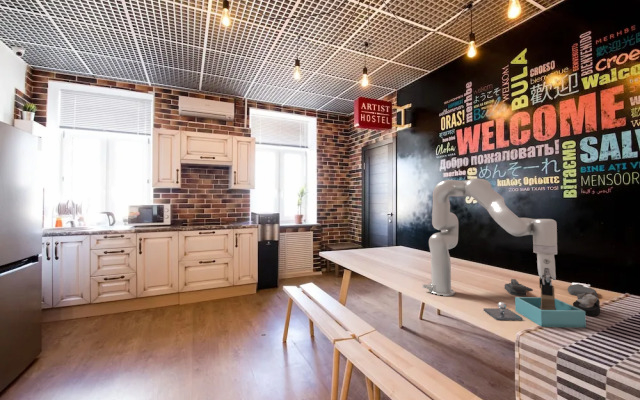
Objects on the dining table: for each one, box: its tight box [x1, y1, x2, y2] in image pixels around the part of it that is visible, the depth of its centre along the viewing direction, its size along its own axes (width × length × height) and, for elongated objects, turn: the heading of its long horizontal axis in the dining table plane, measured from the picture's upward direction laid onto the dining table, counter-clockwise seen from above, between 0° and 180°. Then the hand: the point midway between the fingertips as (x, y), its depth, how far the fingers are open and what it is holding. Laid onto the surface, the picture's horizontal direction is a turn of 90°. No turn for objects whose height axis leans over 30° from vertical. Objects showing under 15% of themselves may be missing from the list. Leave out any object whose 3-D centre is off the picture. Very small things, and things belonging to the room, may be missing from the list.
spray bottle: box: [567, 282, 598, 298], centre depth 145 cm, size 3×11×24 cm
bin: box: [514, 296, 587, 328], centre depth 111 cm, size 16×16×6 cm
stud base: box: [483, 301, 524, 321], centre depth 115 cm, size 10×10×6 cm
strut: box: [539, 284, 556, 310], centre depth 111 cm, size 5×5×12 cm
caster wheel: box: [572, 292, 601, 317], centre depth 117 cm, size 7×11×10 cm
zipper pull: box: [504, 278, 534, 297], centre depth 141 cm, size 9×7×25 cm
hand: (545, 291), depth 112 cm, fingers open, 9 cm apart
